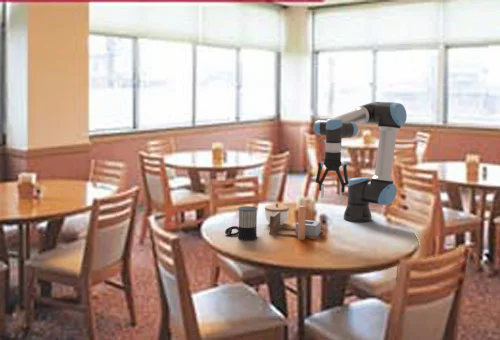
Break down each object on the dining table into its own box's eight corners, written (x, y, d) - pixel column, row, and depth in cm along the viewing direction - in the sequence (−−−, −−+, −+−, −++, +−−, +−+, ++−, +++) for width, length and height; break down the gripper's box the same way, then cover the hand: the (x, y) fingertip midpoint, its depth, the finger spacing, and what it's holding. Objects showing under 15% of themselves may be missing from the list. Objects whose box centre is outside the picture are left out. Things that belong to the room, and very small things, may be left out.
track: (322, 233, 304) (323, 215, 302) (316, 239, 291) (317, 221, 290) (276, 228, 312) (277, 211, 310) (269, 234, 299) (269, 216, 298)
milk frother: (256, 241, 287) (257, 210, 285) (223, 240, 287) (223, 209, 285) (257, 233, 301) (258, 204, 299) (225, 232, 302) (226, 203, 299)
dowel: (305, 238, 293) (306, 206, 290) (303, 240, 289) (305, 207, 287) (298, 237, 294) (299, 205, 291) (296, 239, 290) (297, 206, 288)
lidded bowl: (291, 222, 325) (291, 202, 323) (284, 227, 313) (285, 206, 312) (268, 220, 329) (269, 200, 327) (261, 225, 317) (261, 204, 316)
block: (320, 233, 303) (320, 221, 302) (315, 238, 293) (315, 225, 292) (300, 231, 306) (301, 219, 305) (295, 235, 296) (295, 223, 296)
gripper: (356, 151, 290) (354, 198, 293) (313, 149, 297) (311, 195, 300) (353, 153, 283) (351, 201, 286) (309, 151, 290) (308, 197, 293)
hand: (331, 198), depth 293 cm, fingers open, 8 cm apart
